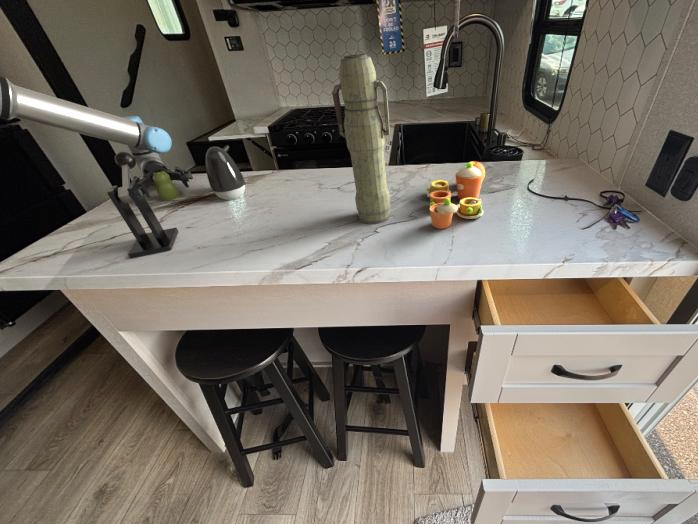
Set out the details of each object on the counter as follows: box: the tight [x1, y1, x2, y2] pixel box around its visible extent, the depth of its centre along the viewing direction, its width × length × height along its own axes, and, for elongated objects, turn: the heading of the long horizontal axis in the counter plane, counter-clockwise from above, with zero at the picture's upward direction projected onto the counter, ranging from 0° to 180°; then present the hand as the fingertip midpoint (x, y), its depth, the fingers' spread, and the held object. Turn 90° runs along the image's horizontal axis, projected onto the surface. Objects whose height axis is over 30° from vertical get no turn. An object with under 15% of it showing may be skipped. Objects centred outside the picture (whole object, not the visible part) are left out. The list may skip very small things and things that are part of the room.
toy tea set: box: [425, 161, 484, 230], centre depth 87 cm, size 26×16×10 cm, turn 175°
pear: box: [153, 171, 181, 205], centre depth 105 cm, size 6×5×10 cm
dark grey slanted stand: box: [106, 182, 179, 259], centre depth 81 cm, size 11×9×15 cm
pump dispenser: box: [205, 144, 246, 201], centre depth 104 cm, size 10×10×15 cm
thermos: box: [331, 53, 392, 225], centre depth 79 cm, size 9×12×35 cm
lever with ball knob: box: [114, 151, 137, 204], centre depth 80 cm, size 14×4×4 cm, turn 19°
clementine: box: [463, 160, 486, 182], centre depth 100 cm, size 8×7×7 cm
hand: (166, 187), depth 101 cm, fingers open, 10 cm apart
